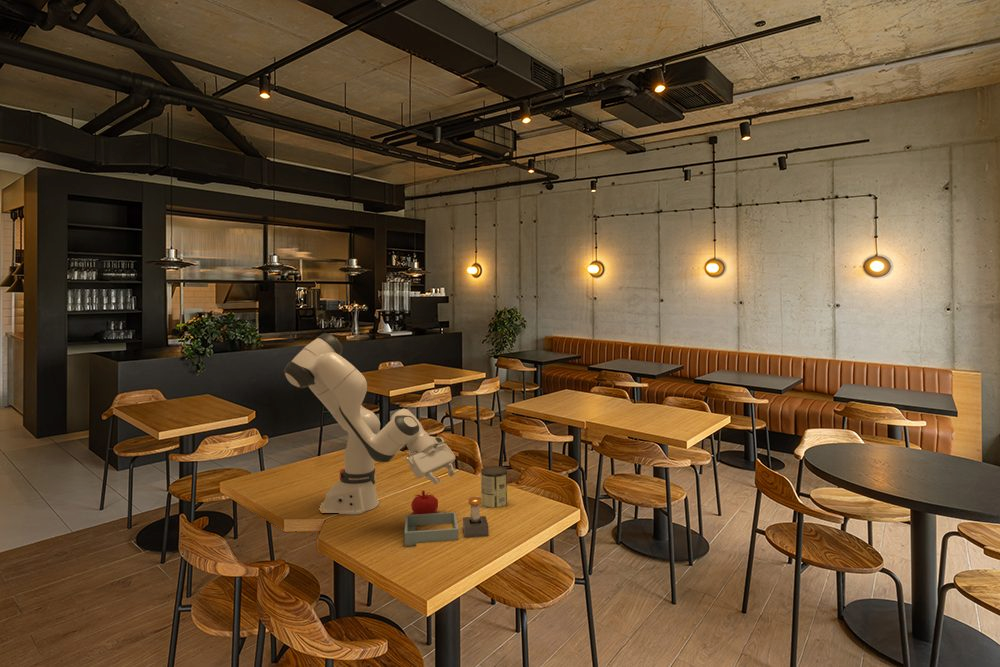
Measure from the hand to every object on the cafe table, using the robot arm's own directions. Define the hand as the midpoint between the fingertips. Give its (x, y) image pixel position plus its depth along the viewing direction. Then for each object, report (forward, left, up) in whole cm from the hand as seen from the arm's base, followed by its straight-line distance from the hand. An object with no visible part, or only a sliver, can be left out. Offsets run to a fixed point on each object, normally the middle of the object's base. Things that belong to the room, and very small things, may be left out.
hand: (445, 479), depth 188 cm
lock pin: (+10, -7, -16) cm, 20 cm away
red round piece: (-7, +13, -18) cm, 23 cm away
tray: (-5, -5, -17) cm, 19 cm away
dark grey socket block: (+10, -7, -17) cm, 21 cm away
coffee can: (+20, +18, -18) cm, 32 cm away
